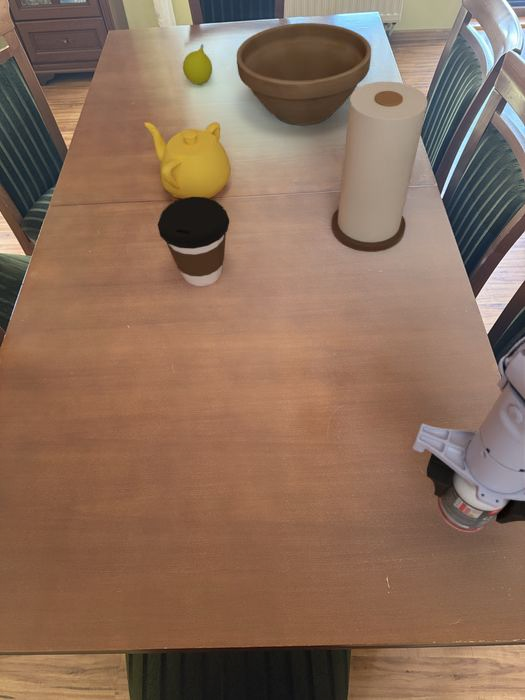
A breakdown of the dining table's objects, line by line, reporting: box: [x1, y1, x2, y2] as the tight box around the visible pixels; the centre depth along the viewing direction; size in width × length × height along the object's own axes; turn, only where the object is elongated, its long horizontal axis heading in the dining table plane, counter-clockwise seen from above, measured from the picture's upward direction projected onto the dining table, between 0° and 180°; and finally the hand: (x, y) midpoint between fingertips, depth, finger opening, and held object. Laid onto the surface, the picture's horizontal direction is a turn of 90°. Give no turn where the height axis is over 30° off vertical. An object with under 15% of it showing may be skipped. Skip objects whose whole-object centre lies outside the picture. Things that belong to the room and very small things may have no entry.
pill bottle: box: [436, 471, 510, 533], centre depth 51 cm, size 6×6×10 cm
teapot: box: [144, 121, 232, 199], centre depth 96 cm, size 14×14×12 cm
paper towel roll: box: [331, 81, 428, 253], centre depth 83 cm, size 13×13×24 cm
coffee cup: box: [157, 197, 230, 288], centre depth 81 cm, size 11×11×12 cm
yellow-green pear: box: [182, 43, 213, 85], centre depth 124 cm, size 7×7×10 cm
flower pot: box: [236, 22, 372, 126], centre depth 113 cm, size 28×28×13 cm
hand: (469, 500), depth 53 cm, fingers closed on pill bottle, 5 cm apart
